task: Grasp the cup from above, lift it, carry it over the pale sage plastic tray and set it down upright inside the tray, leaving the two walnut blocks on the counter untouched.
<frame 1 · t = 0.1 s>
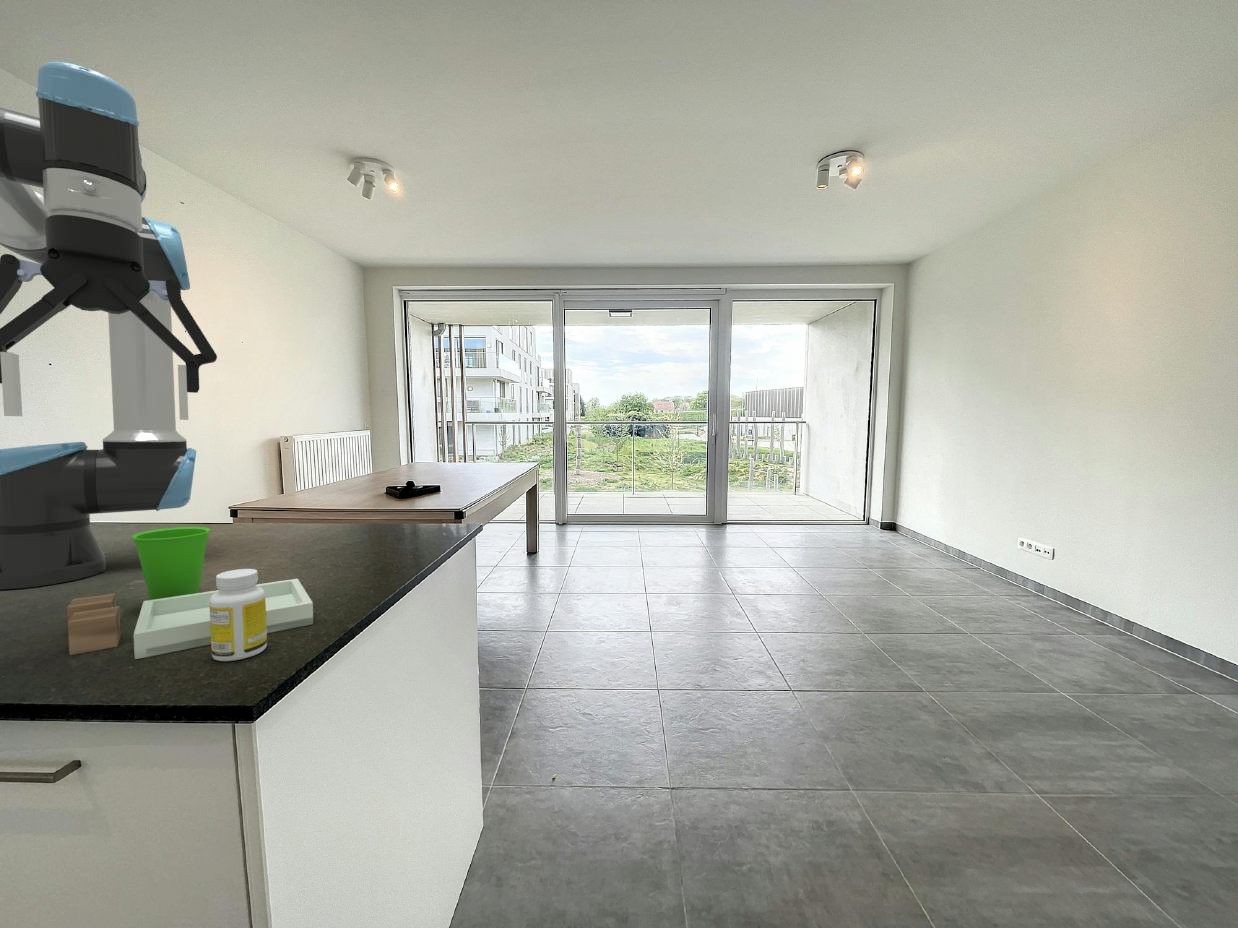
hand: (105, 418, 58), 28 cm above the countertop, fingers open, 13 cm apart
supplement bottle: (240, 654, 61), on the countertop
tray: (229, 623, 70), on the countertop
walnut block b: (93, 629, 67), on the countertop
cup: (175, 605, 77), on the countertop
walnut block a: (96, 645, 63), on the countertop
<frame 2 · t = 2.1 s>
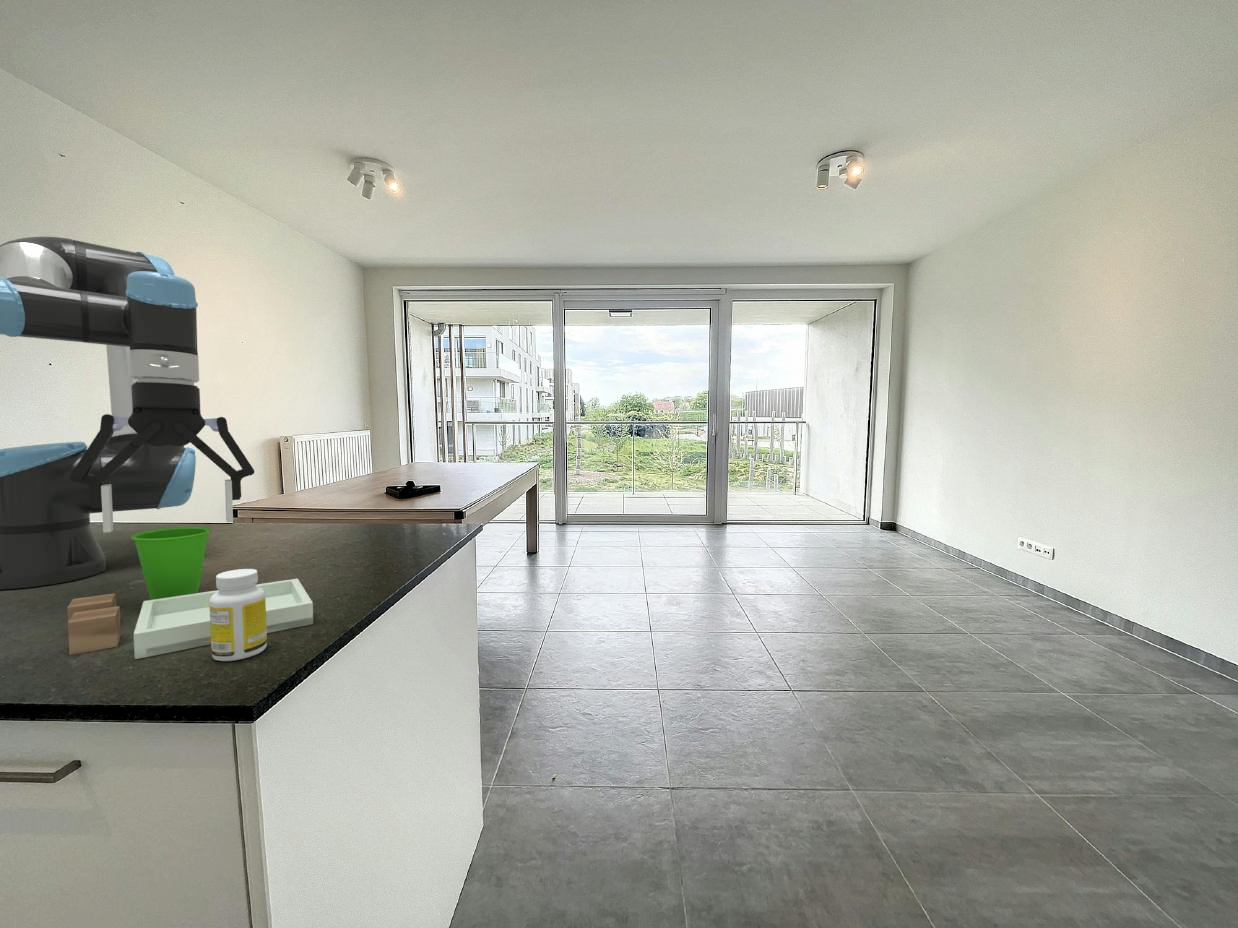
hand: (172, 526, 76), 12 cm above the countertop, fingers open, 13 cm apart
nothing on the countertop moved.
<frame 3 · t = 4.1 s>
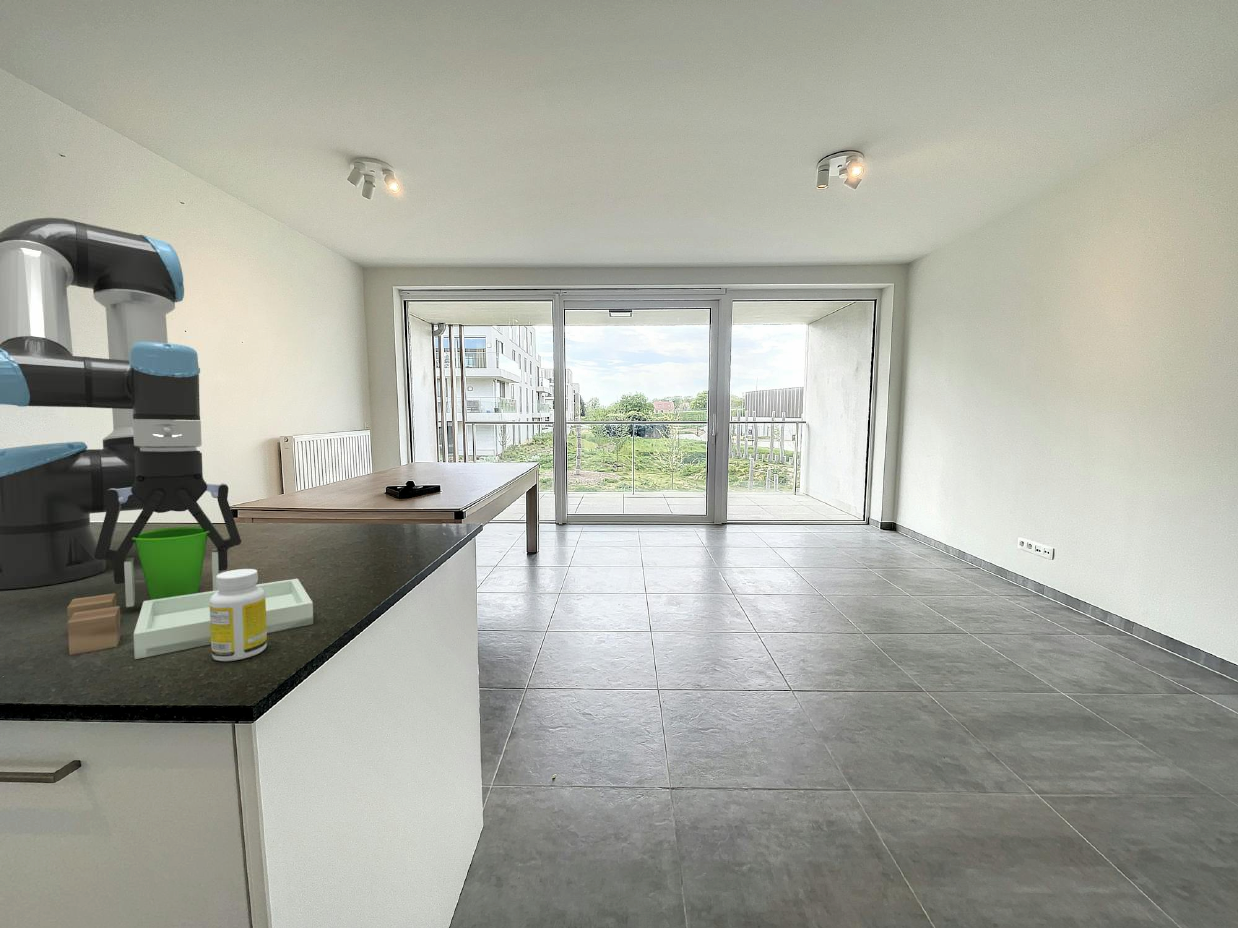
hand: (175, 597, 77), 1 cm above the countertop, fingers closed on cup, 9 cm apart
cup: (175, 605, 77), on the countertop, touching gripper
everything else where it was.
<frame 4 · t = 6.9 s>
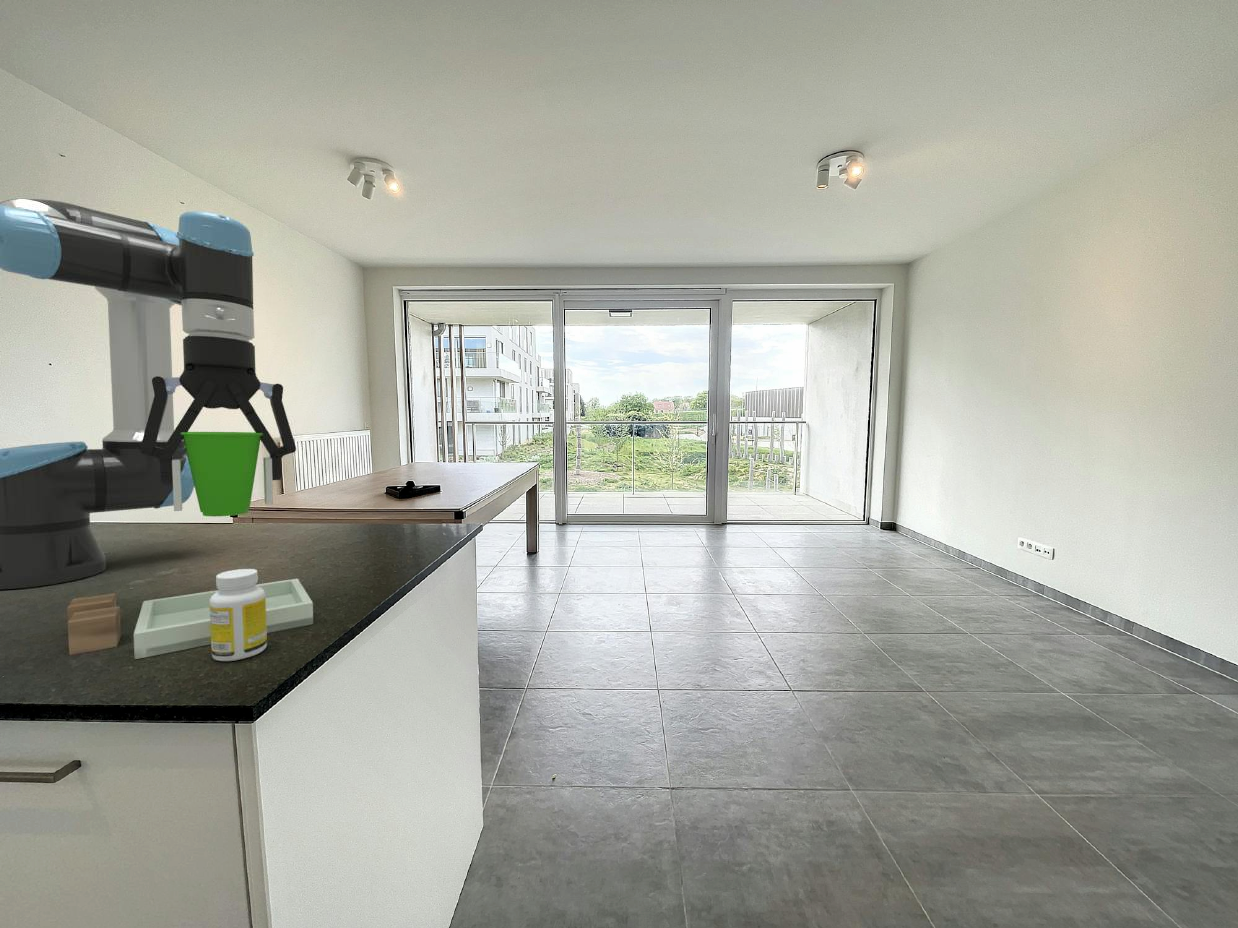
hand: (225, 506, 69), 16 cm above the countertop, fingers closed on cup, 9 cm apart
cup: (225, 514, 69), point 15 cm above the countertop, touching gripper
everything else where it was.
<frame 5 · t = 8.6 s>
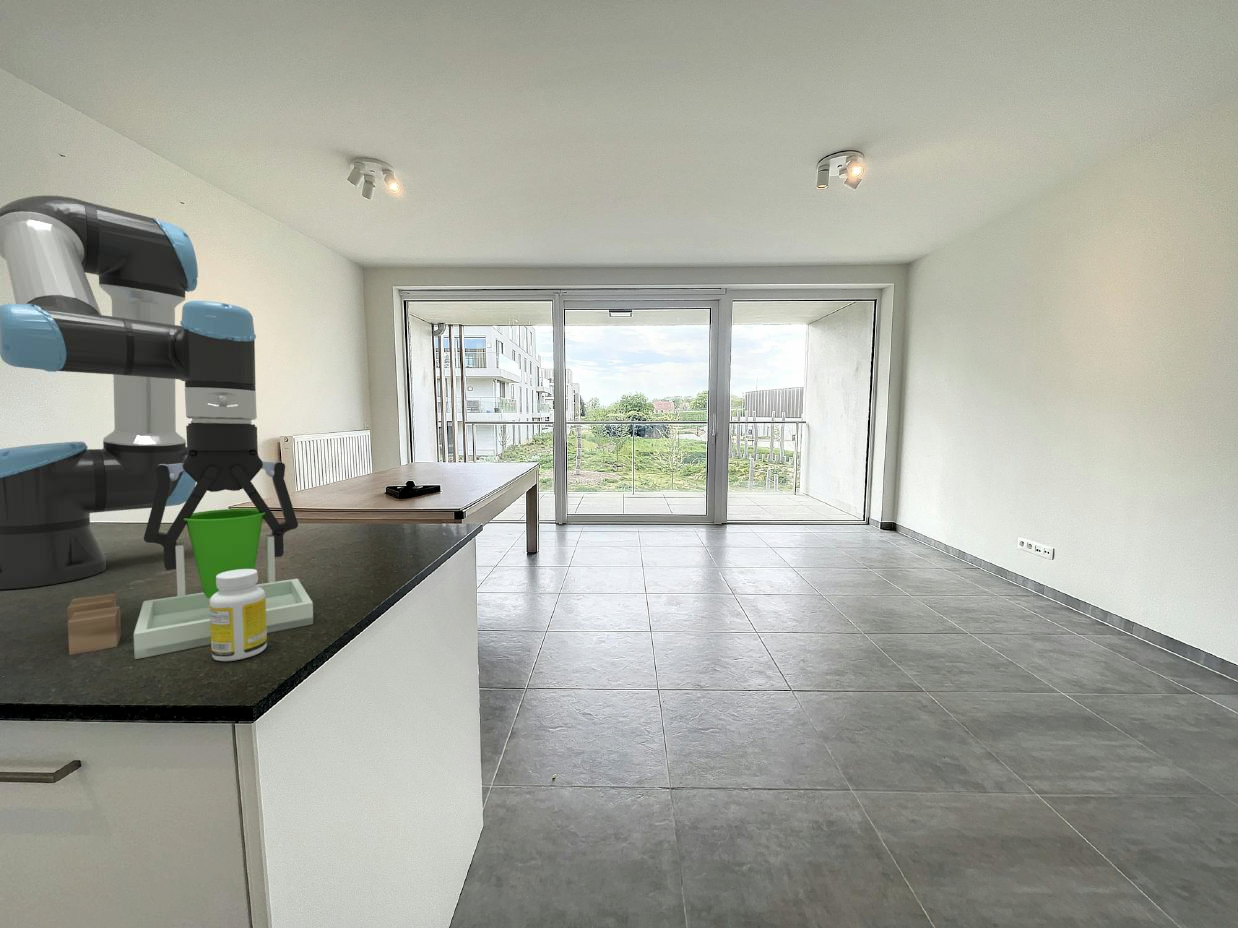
hand: (228, 585, 70), 5 cm above the countertop, fingers closed on cup, 9 cm apart
cup: (228, 594, 70), point 4 cm above the countertop, touching gripper
everything else where it was.
when the fingers open (3 cm above the countertop, at t = 10.0 s): cup drops 1 cm, resting on tray.
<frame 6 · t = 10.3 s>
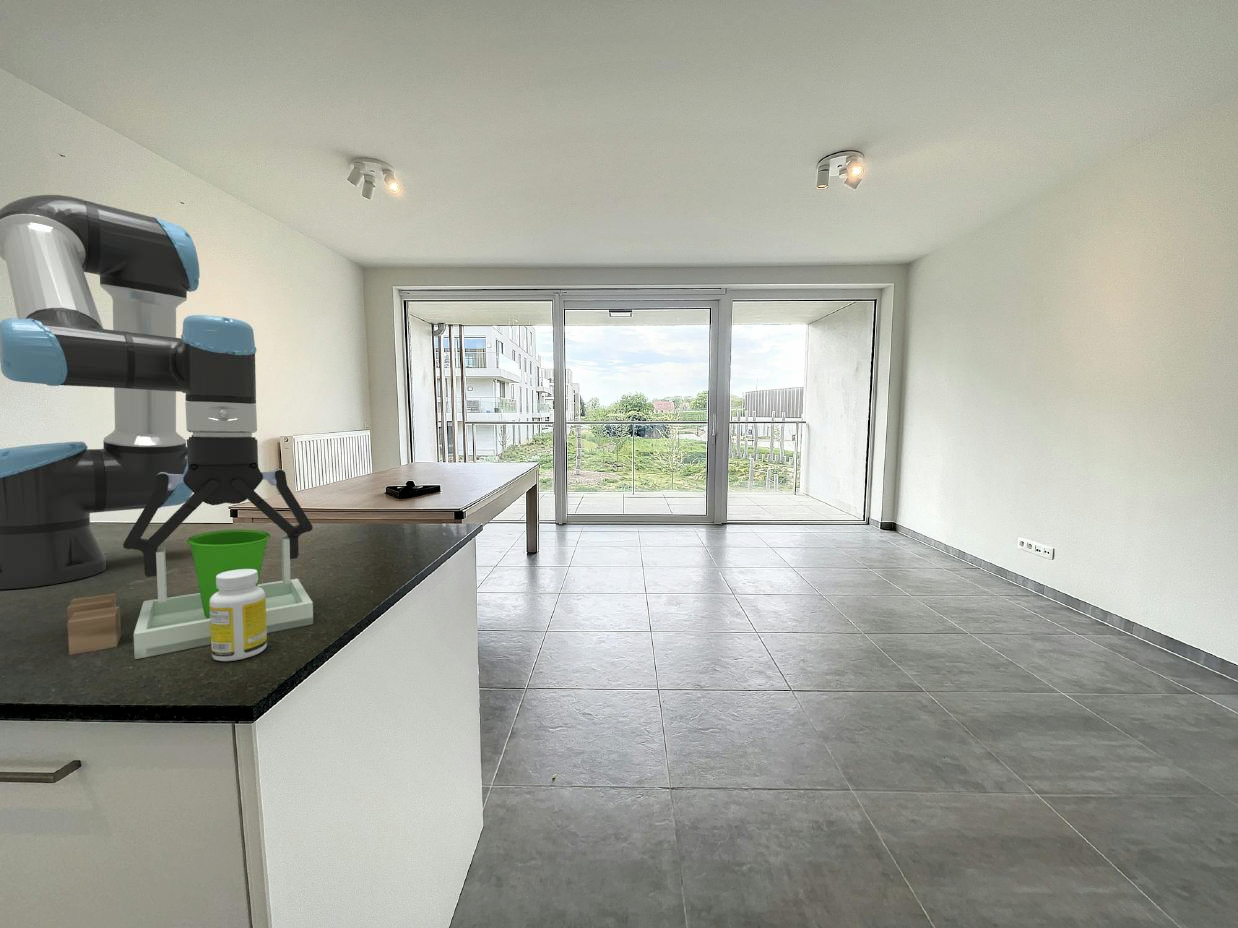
hand: (228, 590, 70), 5 cm above the countertop, fingers open, 13 cm apart
cup: (228, 616, 70), point 1 cm above the countertop, touching tray
everything else where it was.
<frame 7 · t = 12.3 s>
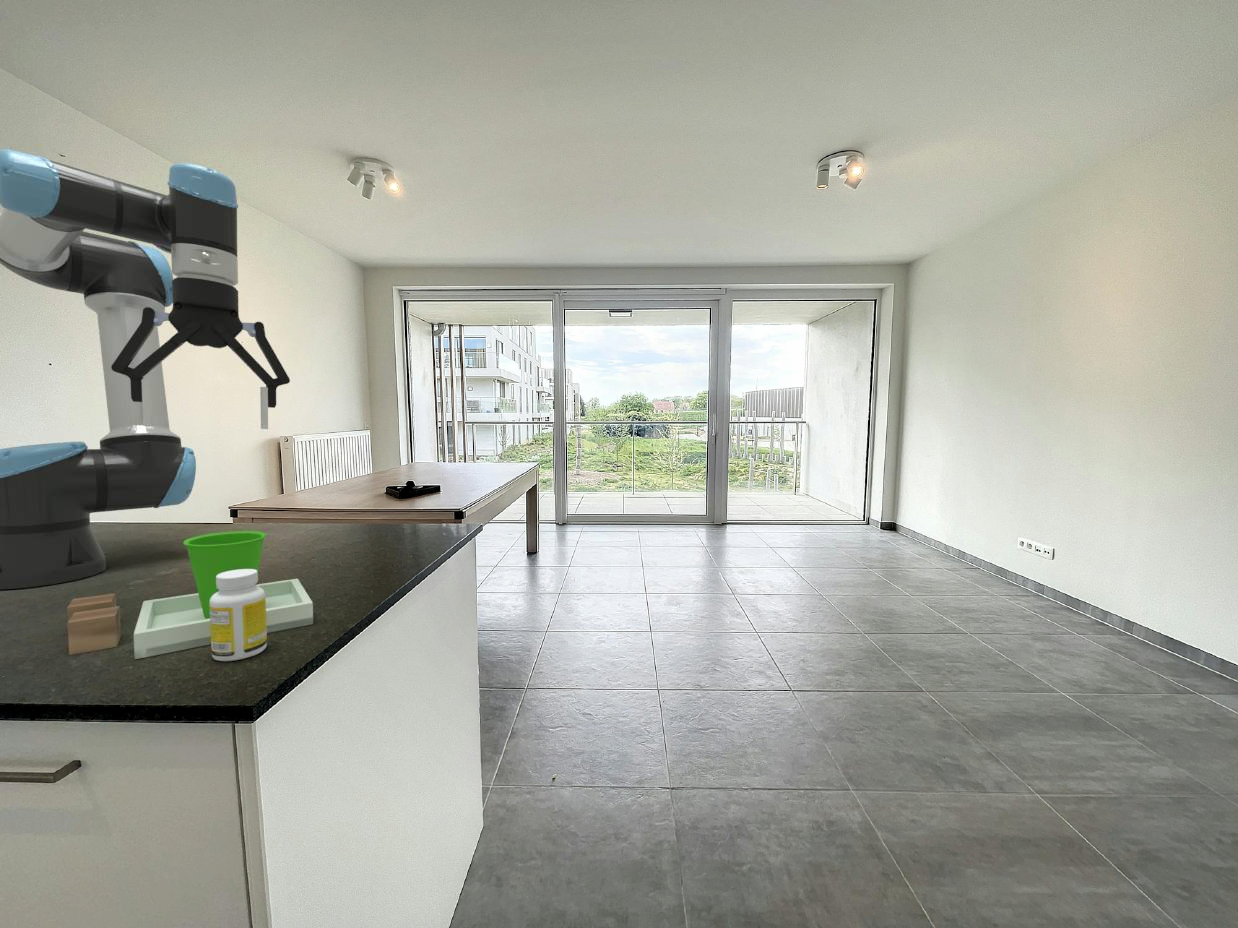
hand: (209, 427, 76), 27 cm above the countertop, fingers open, 13 cm apart
nothing on the countertop moved.
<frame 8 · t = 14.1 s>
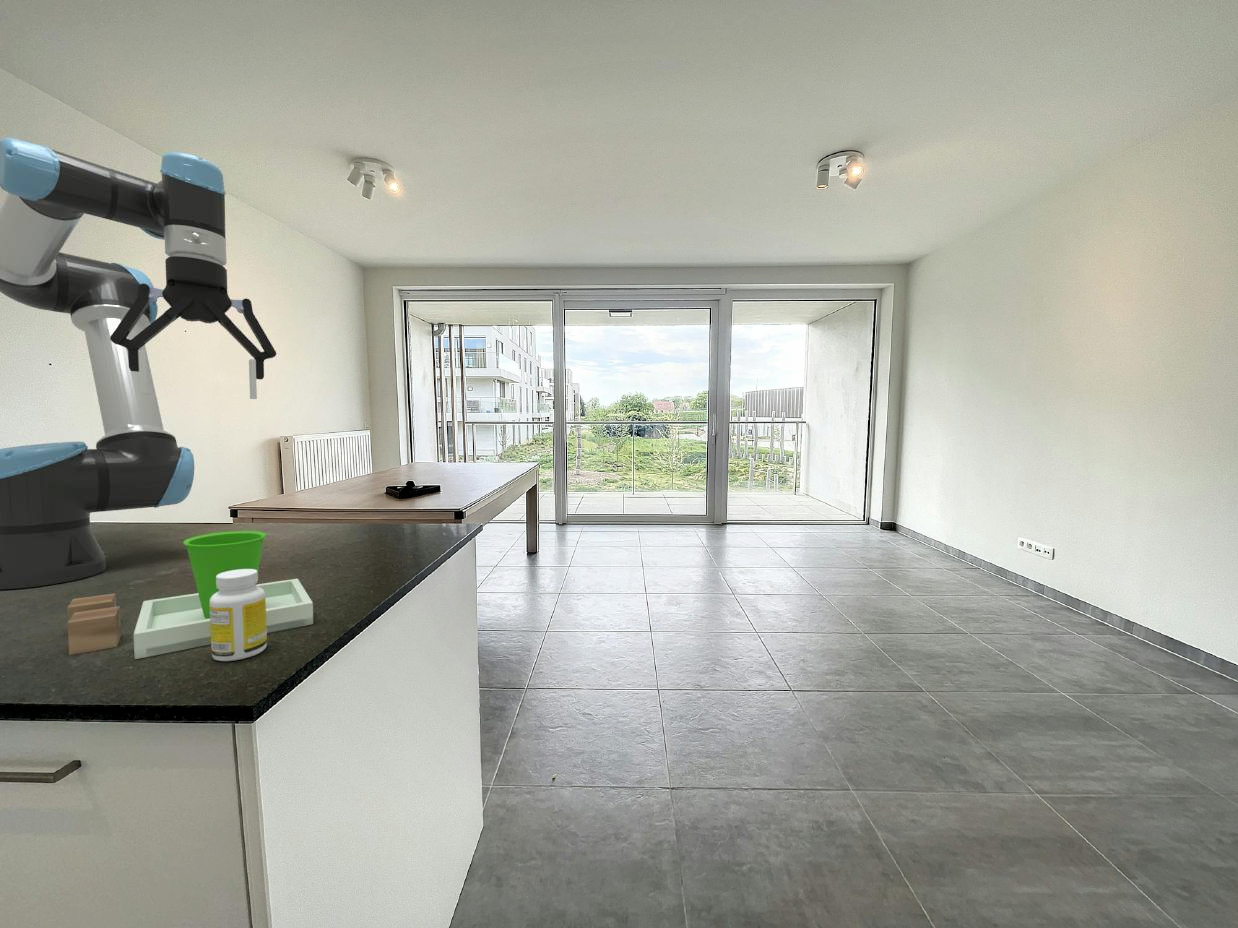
hand: (201, 396, 82), 32 cm above the countertop, fingers open, 13 cm apart
nothing on the countertop moved.
at the end: cup inside the target area on the tray (0.0 cm from its centre), point 0.8 cm above the tray's base; cup tilted 0°; cup touching tray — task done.
